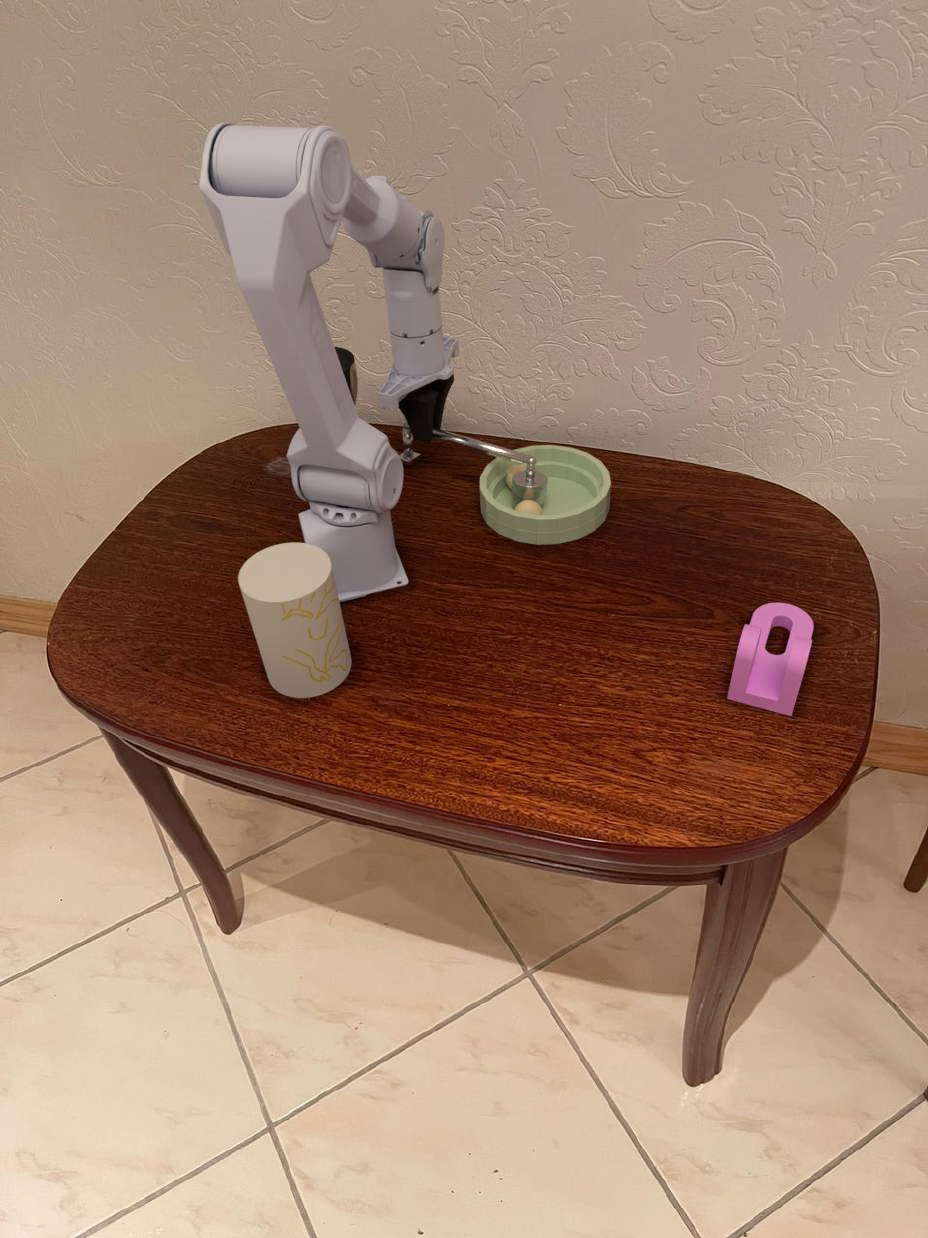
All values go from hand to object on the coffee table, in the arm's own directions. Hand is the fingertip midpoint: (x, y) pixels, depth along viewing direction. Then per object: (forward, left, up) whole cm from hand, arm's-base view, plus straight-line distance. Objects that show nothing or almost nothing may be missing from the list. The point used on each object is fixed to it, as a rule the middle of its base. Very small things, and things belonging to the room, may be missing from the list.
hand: (426, 436), depth 105 cm
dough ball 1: (+9, -8, -5) cm, 13 cm away
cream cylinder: (-19, -28, -6) cm, 34 cm away
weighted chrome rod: (+3, -4, -4) cm, 6 cm away
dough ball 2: (+8, -14, -5) cm, 17 cm away
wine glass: (-10, +4, -6) cm, 13 cm away
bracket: (+22, -41, -6) cm, 47 cm away
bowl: (+11, -12, -6) cm, 17 cm away
